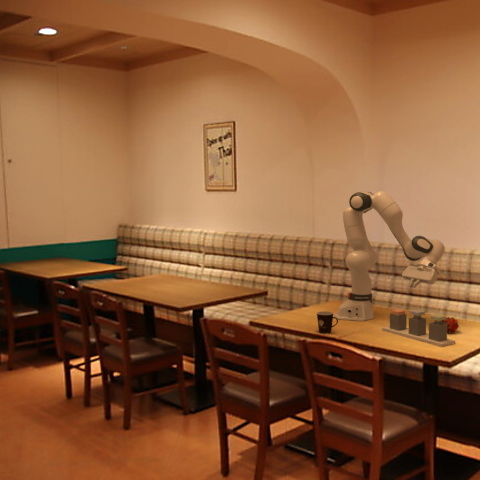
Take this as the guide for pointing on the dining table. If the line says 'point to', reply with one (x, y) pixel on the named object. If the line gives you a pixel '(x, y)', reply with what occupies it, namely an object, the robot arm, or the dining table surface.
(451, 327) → the dragon fruit
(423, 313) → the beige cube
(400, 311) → the terracotta button
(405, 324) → the button console
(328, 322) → the coffee mug
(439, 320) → the sage button
